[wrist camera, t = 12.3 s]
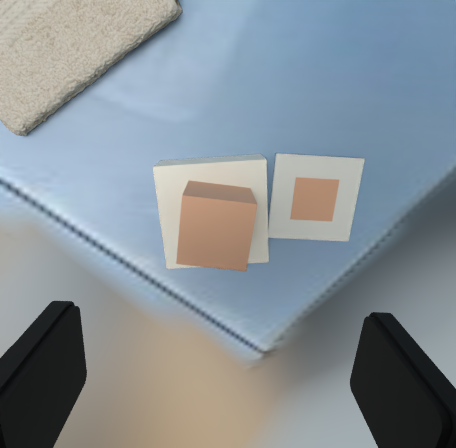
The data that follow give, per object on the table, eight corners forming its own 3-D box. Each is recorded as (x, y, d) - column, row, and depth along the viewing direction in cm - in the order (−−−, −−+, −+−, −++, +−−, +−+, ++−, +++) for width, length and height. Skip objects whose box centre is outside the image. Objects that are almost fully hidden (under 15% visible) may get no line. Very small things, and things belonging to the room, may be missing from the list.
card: (363, 158, 29) (365, 159, 28) (346, 239, 32) (348, 241, 31) (275, 152, 29) (276, 153, 28) (266, 236, 31) (267, 238, 31)
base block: (260, 153, 29) (266, 159, 25) (262, 244, 32) (268, 262, 28) (161, 160, 29) (152, 166, 25) (172, 250, 32) (166, 269, 28)
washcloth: (193, 10, 25) (189, -4, 22) (29, 142, 28) (7, 145, 25) (90, -157, 22) (70, -199, 19) (-84, 12, 25) (-125, -2, 22)
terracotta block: (250, 187, 26) (257, 204, 21) (241, 244, 27) (246, 271, 23) (188, 180, 26) (182, 195, 21) (183, 238, 27) (176, 263, 22)
